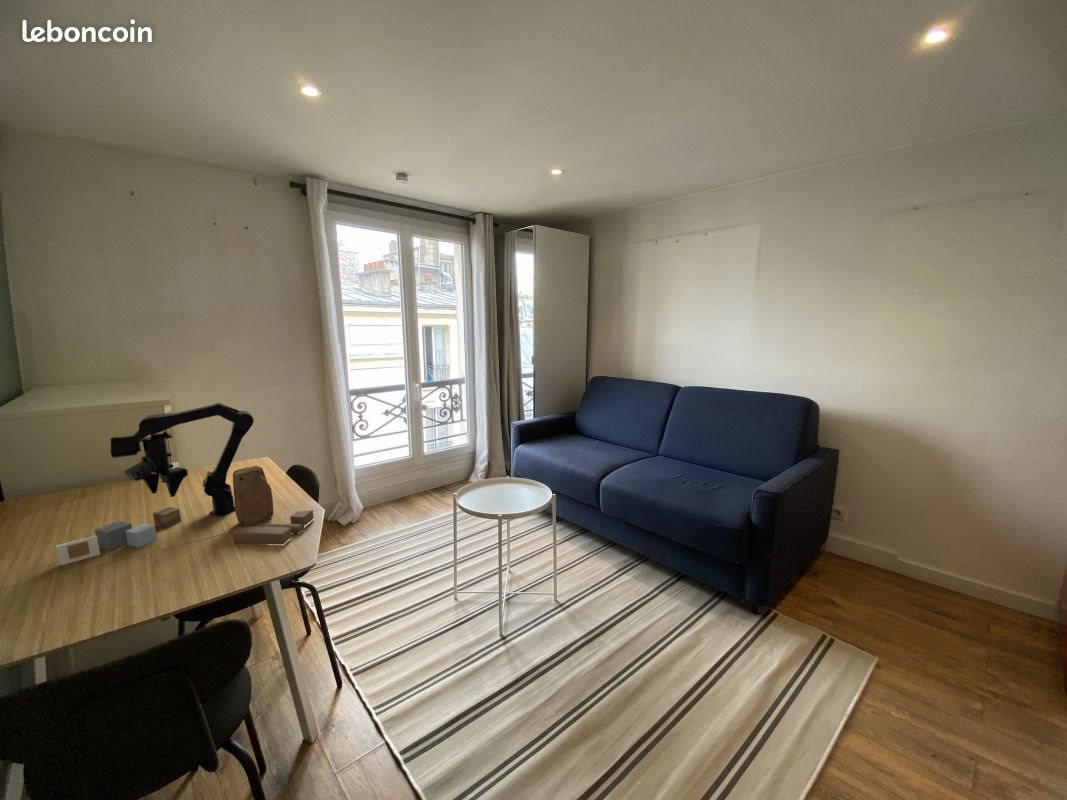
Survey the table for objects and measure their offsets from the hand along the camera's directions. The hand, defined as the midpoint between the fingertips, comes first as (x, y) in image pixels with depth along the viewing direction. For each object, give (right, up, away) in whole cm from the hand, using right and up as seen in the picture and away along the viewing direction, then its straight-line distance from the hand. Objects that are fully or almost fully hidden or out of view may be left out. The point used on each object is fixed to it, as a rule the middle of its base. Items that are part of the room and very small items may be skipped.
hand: (163, 494), depth 139 cm
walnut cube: (0, -11, +2) cm, 11 cm away
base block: (-5, -13, -11) cm, 18 cm away
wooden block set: (+41, -13, -2) cm, 43 cm away
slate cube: (+3, -13, -10) cm, 17 cm away
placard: (-6, -15, -20) cm, 25 cm away
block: (+29, -11, +5) cm, 31 cm away
